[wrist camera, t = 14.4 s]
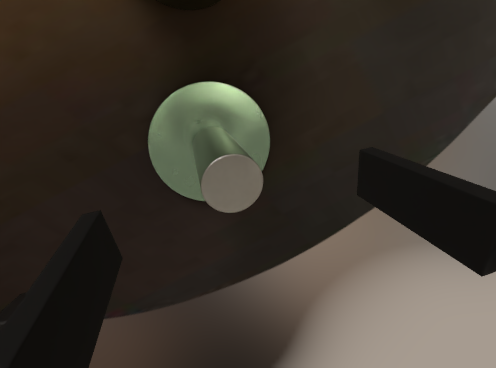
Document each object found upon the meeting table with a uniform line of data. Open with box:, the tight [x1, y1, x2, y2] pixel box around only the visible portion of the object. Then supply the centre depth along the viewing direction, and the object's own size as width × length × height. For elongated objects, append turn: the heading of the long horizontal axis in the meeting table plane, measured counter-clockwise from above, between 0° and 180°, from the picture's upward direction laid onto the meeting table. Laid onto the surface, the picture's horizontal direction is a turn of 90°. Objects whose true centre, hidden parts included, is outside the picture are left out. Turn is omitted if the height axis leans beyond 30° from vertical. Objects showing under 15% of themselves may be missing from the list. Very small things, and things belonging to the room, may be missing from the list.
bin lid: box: [148, 81, 270, 213], centre depth 20 cm, size 12×12×11 cm
